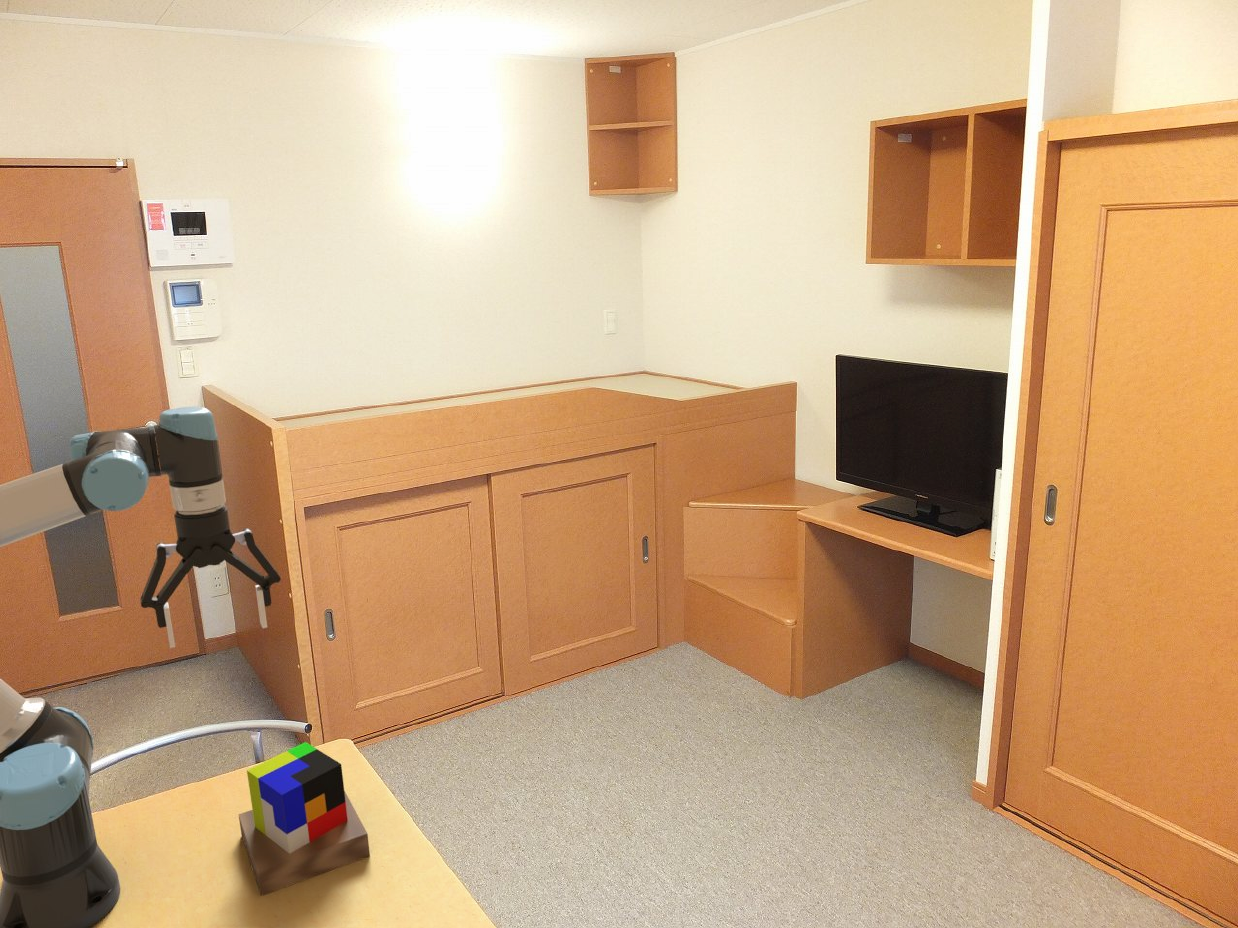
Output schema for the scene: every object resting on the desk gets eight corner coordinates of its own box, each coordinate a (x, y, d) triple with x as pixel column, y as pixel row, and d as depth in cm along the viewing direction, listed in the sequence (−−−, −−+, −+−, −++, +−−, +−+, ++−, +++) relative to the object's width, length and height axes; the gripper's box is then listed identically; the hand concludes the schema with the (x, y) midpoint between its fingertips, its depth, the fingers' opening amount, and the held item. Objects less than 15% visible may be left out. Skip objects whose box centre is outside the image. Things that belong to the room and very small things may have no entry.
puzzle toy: (289, 853, 137) (281, 794, 135) (255, 826, 144) (246, 770, 141) (347, 820, 145) (341, 763, 142) (312, 796, 151) (305, 741, 148)
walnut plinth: (261, 895, 134) (257, 872, 133) (241, 835, 148) (238, 814, 147) (369, 855, 142) (367, 833, 141) (342, 802, 156) (339, 781, 155)
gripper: (108, 528, 133) (132, 662, 139) (288, 500, 145) (304, 625, 150) (108, 514, 140) (131, 643, 145) (281, 489, 151) (295, 609, 157)
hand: (219, 634), depth 148 cm, fingers open, 13 cm apart
